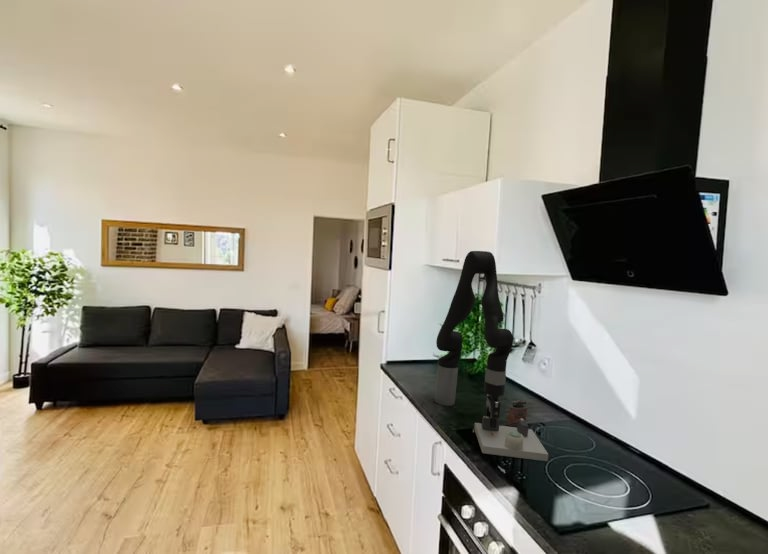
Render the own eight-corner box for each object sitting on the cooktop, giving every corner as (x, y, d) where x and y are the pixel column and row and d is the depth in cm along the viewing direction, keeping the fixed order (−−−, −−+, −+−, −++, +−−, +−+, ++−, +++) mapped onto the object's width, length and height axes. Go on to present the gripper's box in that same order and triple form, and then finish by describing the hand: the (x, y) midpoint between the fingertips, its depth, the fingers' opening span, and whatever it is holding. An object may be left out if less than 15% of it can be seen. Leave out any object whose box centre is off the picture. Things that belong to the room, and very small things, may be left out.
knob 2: (520, 435, 149) (522, 424, 148) (516, 428, 155) (518, 417, 154) (527, 436, 148) (528, 424, 148) (523, 429, 154) (524, 418, 154)
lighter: (510, 426, 164) (513, 402, 163) (506, 422, 167) (508, 399, 167) (527, 425, 166) (530, 402, 165) (522, 422, 169) (525, 399, 169)
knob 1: (498, 431, 151) (499, 419, 151) (482, 429, 152) (483, 417, 151) (497, 428, 153) (498, 417, 153) (481, 426, 154) (482, 415, 154)
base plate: (474, 428, 158) (476, 411, 158) (531, 435, 156) (533, 417, 156) (482, 453, 138) (484, 433, 138) (547, 461, 136) (549, 441, 136)
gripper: (481, 374, 159) (478, 414, 159) (488, 385, 145) (483, 429, 145) (501, 376, 158) (497, 417, 159) (509, 388, 144) (504, 432, 145)
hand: (490, 423), depth 152 cm, fingers open, 8 cm apart
